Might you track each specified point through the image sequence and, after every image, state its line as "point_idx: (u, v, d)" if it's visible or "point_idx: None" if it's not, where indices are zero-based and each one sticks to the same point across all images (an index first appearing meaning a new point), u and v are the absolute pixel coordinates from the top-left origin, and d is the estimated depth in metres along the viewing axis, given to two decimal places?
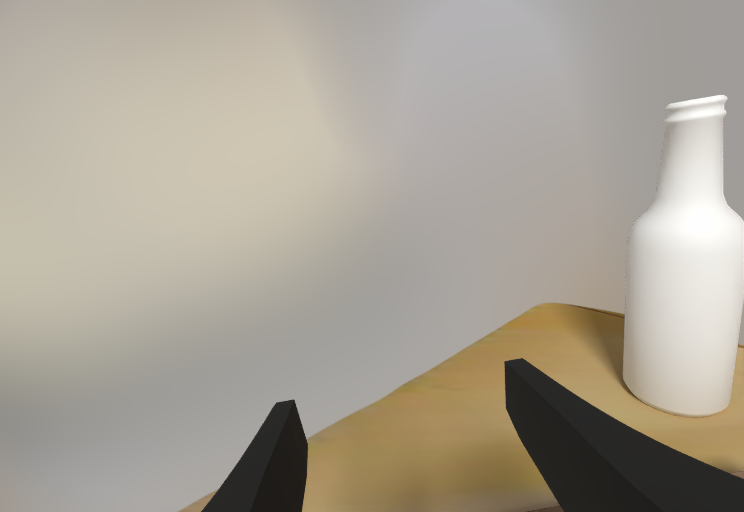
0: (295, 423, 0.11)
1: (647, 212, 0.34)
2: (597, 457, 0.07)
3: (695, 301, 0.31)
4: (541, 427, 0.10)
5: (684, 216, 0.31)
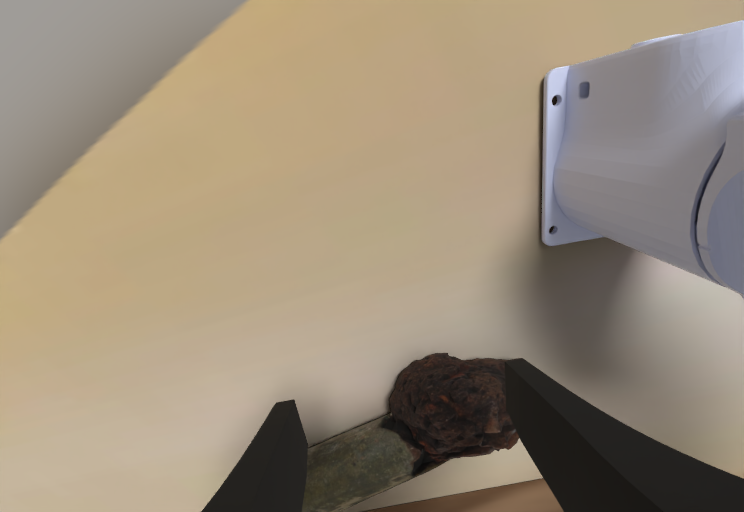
0: (295, 423, 0.11)
1: None
2: (597, 457, 0.07)
3: None
4: (541, 427, 0.10)
5: None
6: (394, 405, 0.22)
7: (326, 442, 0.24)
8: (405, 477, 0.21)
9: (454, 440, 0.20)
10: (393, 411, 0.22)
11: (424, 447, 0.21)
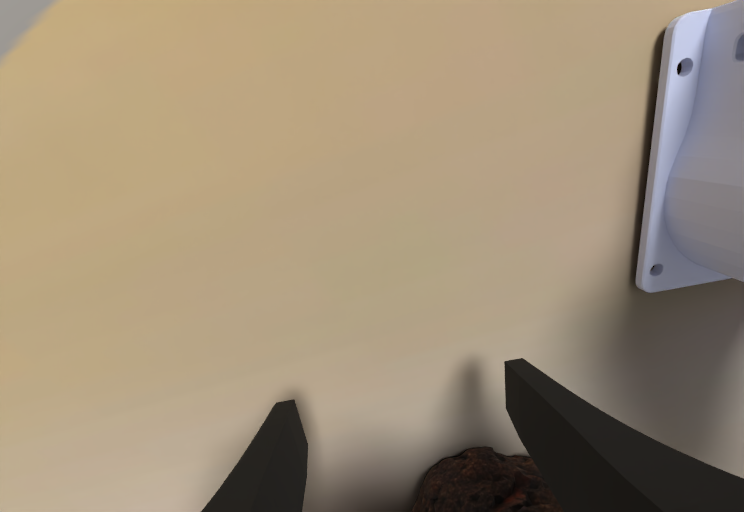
0: (295, 423, 0.11)
1: None
2: (597, 457, 0.07)
3: None
4: (541, 427, 0.10)
5: None
6: None
7: None
8: None
9: None
10: None
11: None
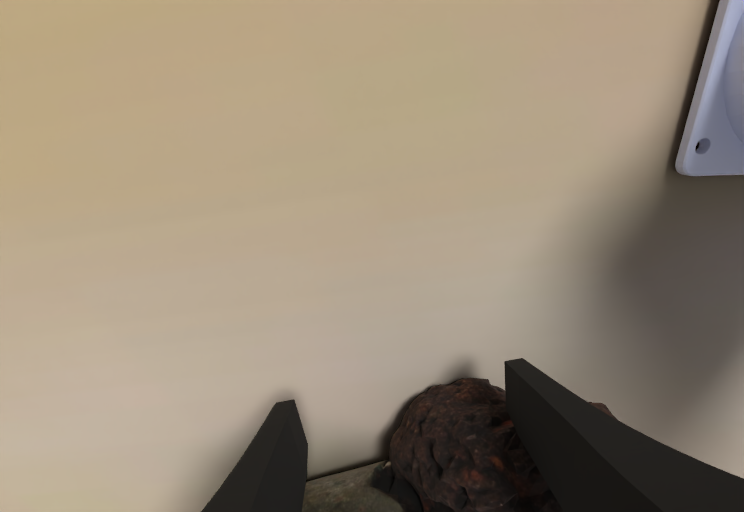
0: (295, 423, 0.11)
1: None
2: (597, 457, 0.07)
3: None
4: (541, 427, 0.10)
5: None
6: (398, 454, 0.13)
7: None
8: None
9: None
10: (395, 463, 0.14)
11: None
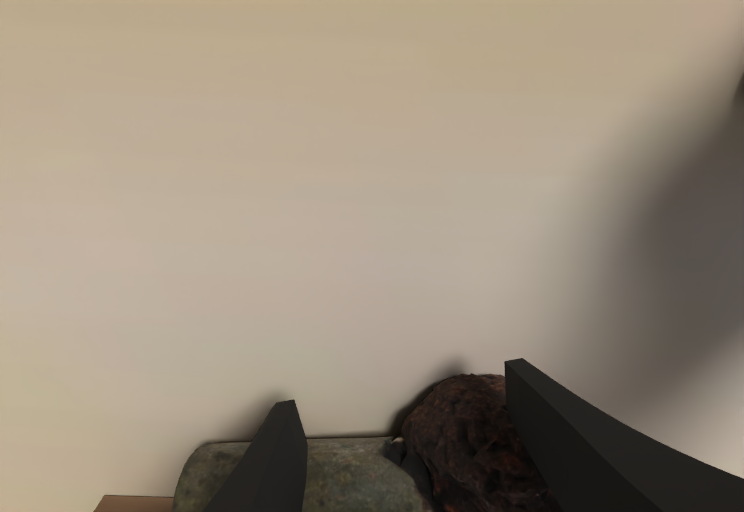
0: (295, 423, 0.11)
1: None
2: (597, 457, 0.07)
3: None
4: (541, 427, 0.10)
5: None
6: (422, 429, 0.13)
7: None
8: None
9: None
10: (414, 438, 0.13)
11: None
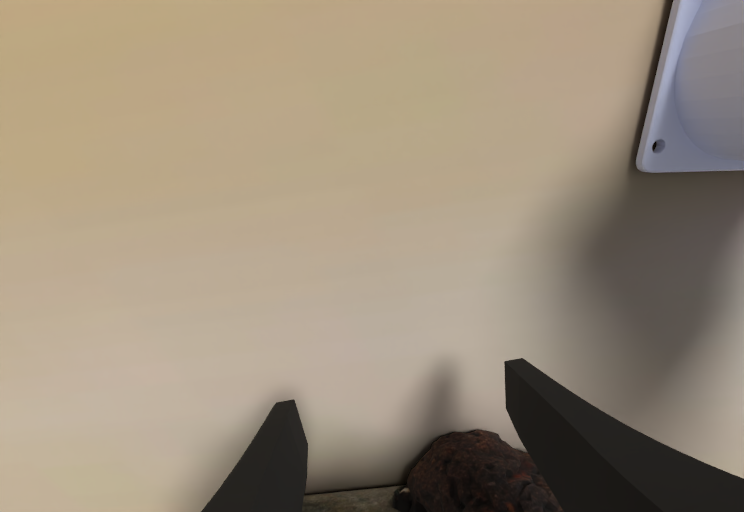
0: (295, 423, 0.11)
1: None
2: (597, 457, 0.07)
3: None
4: (541, 427, 0.10)
5: None
6: (422, 485, 0.16)
7: (307, 501, 0.17)
8: None
9: None
10: (417, 491, 0.17)
11: None
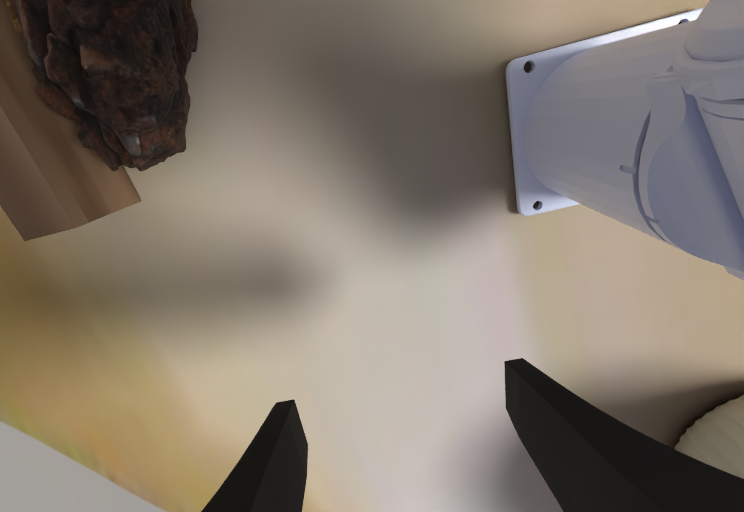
0: (295, 423, 0.11)
1: None
2: (597, 457, 0.07)
3: None
4: (541, 427, 0.10)
5: None
6: None
7: None
8: None
9: None
10: None
11: None
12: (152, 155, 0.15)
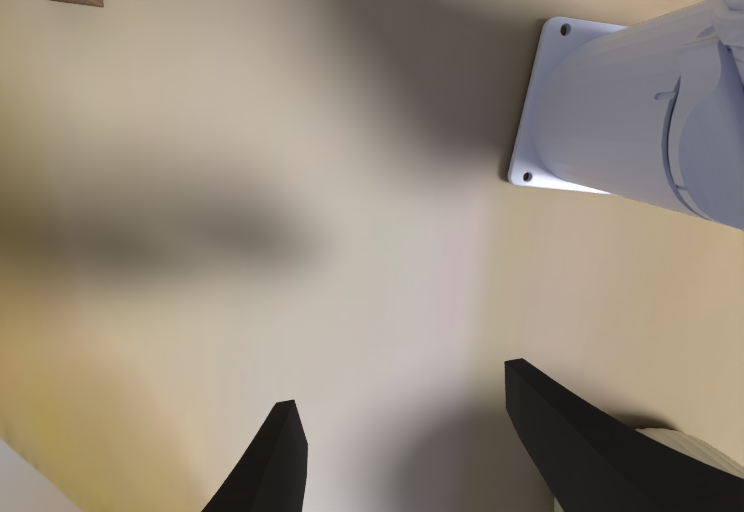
0: (295, 423, 0.11)
1: None
2: (597, 457, 0.07)
3: None
4: (541, 427, 0.10)
5: None
6: None
7: None
8: None
9: None
10: None
11: None
12: None
